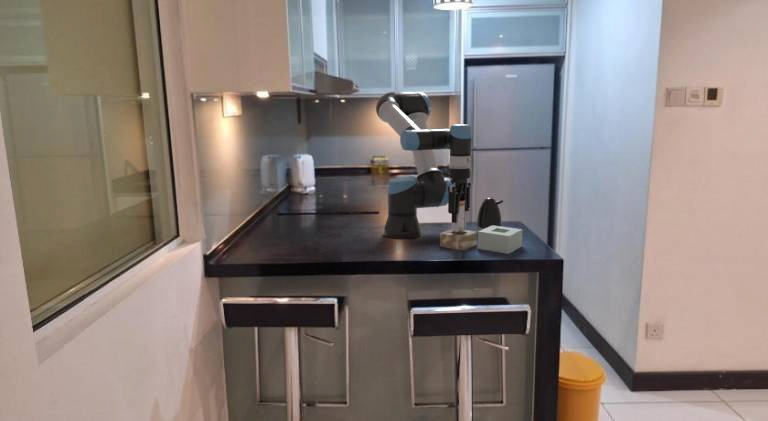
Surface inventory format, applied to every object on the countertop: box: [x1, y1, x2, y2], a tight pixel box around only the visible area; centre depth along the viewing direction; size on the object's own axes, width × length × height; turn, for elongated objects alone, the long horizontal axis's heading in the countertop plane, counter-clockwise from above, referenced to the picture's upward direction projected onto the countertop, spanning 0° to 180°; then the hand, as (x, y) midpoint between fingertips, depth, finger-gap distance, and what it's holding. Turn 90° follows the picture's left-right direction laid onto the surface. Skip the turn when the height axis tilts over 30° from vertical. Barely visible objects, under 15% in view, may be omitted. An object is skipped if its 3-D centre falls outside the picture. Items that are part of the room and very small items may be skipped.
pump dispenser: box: [475, 197, 504, 232], centre depth 209 cm, size 10×10×15 cm
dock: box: [477, 225, 524, 255], centre depth 190 cm, size 12×12×6 cm
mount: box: [439, 229, 478, 251], centre depth 194 cm, size 10×10×5 cm
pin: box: [453, 200, 465, 235], centre depth 192 cm, size 4×4×17 cm
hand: (458, 229), depth 193 cm, fingers open, 5 cm apart
